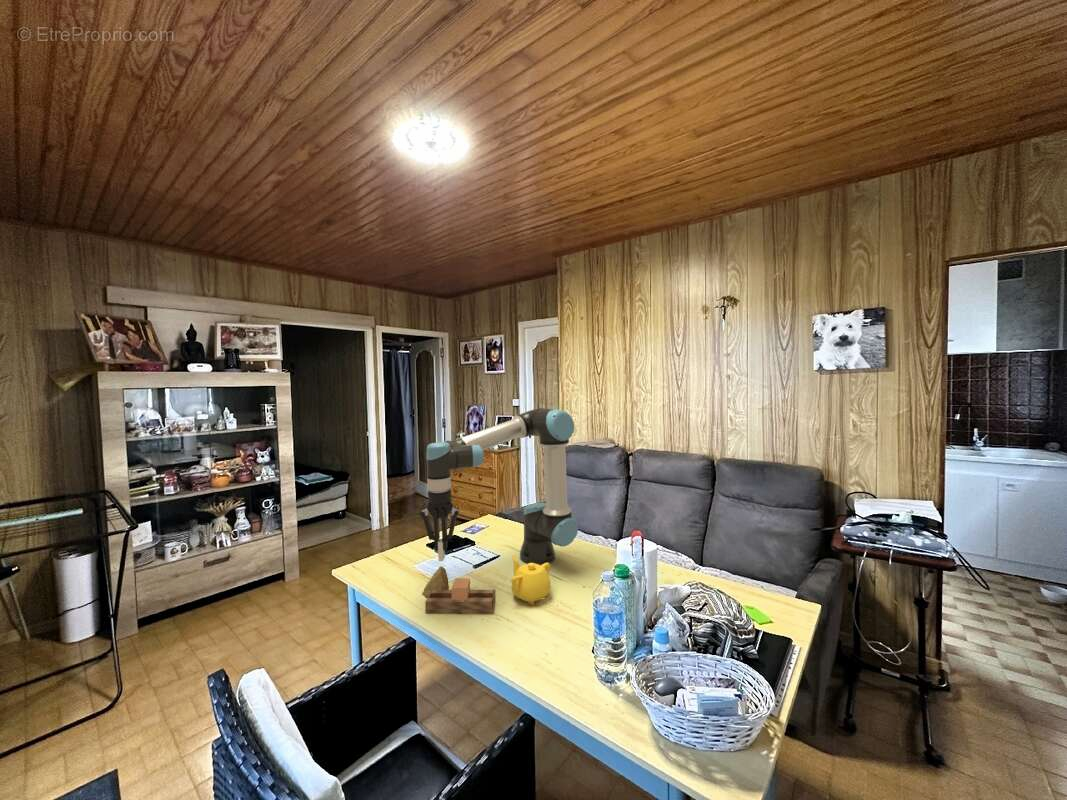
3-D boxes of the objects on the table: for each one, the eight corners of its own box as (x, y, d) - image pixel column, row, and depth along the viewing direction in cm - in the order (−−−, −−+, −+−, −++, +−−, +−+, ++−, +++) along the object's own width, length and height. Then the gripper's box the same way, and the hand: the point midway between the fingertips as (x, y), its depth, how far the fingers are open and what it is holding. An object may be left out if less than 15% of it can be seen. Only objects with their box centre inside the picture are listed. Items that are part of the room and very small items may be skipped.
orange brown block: (470, 597, 143) (470, 578, 143) (467, 608, 136) (466, 588, 136) (455, 597, 143) (455, 578, 143) (451, 608, 136) (451, 588, 136)
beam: (495, 600, 144) (495, 588, 144) (493, 614, 135) (493, 601, 135) (431, 600, 144) (431, 588, 144) (425, 614, 135) (425, 601, 135)
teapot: (549, 586, 154) (549, 554, 154) (551, 607, 140) (552, 572, 139) (511, 586, 154) (511, 555, 153) (510, 607, 140) (510, 572, 139)
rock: (457, 595, 143) (453, 583, 153) (445, 574, 142) (442, 564, 152) (428, 614, 140) (426, 601, 150) (416, 593, 139) (415, 581, 149)
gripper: (461, 486, 142) (463, 554, 143) (422, 487, 142) (424, 555, 143) (457, 492, 134) (459, 564, 136) (416, 493, 134) (419, 565, 136)
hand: (441, 559), depth 139 cm, fingers closed
